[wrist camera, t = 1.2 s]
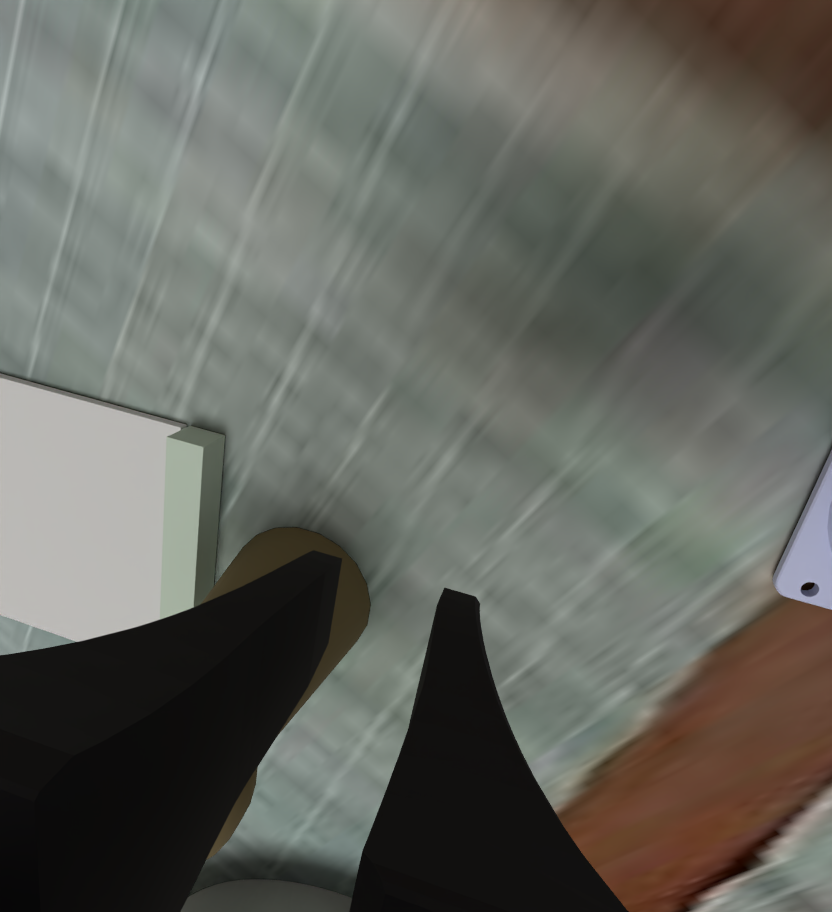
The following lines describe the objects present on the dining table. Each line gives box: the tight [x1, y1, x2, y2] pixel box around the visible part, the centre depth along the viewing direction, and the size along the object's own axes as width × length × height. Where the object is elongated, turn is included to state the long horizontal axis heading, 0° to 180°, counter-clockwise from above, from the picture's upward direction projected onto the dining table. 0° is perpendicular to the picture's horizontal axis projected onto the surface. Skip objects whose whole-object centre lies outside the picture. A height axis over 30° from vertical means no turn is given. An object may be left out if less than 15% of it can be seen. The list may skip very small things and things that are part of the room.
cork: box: [201, 527, 370, 860], centre depth 20 cm, size 6×6×11 cm
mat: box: [0, 374, 187, 642], centre depth 27 cm, size 12×12×1 cm
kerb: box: [160, 426, 225, 619], centre depth 25 cm, size 2×12×2 cm, turn 169°
